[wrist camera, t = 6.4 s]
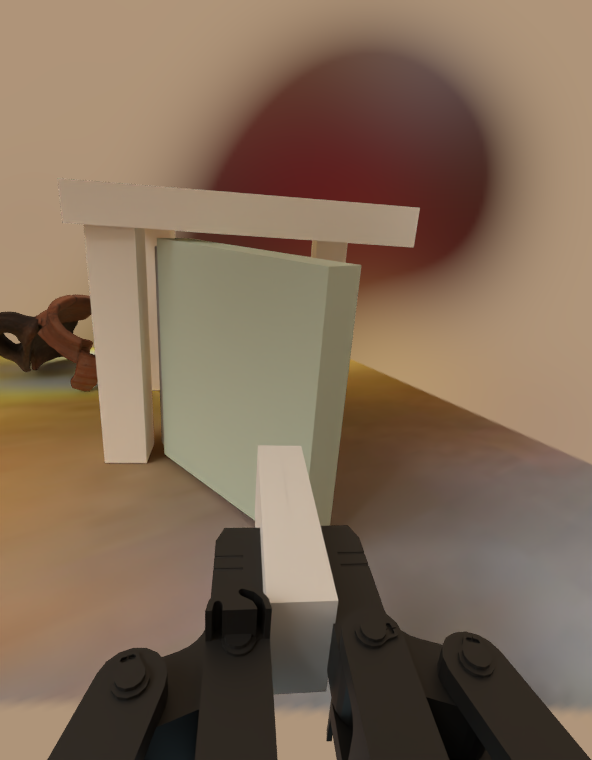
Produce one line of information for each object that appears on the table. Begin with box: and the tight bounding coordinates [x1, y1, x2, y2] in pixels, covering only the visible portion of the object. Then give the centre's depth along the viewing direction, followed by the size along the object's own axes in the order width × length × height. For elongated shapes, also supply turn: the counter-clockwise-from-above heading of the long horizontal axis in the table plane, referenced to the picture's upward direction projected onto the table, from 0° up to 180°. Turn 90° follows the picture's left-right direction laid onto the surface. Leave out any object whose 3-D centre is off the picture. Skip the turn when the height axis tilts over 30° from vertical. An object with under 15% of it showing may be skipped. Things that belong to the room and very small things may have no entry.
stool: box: [58, 178, 420, 463], centre depth 32 cm, size 18×16×16 cm
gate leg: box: [155, 238, 361, 526], centre depth 23 cm, size 13×2×13 cm, turn 46°
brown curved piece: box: [0, 295, 98, 391], centre depth 39 cm, size 12×10×8 cm
